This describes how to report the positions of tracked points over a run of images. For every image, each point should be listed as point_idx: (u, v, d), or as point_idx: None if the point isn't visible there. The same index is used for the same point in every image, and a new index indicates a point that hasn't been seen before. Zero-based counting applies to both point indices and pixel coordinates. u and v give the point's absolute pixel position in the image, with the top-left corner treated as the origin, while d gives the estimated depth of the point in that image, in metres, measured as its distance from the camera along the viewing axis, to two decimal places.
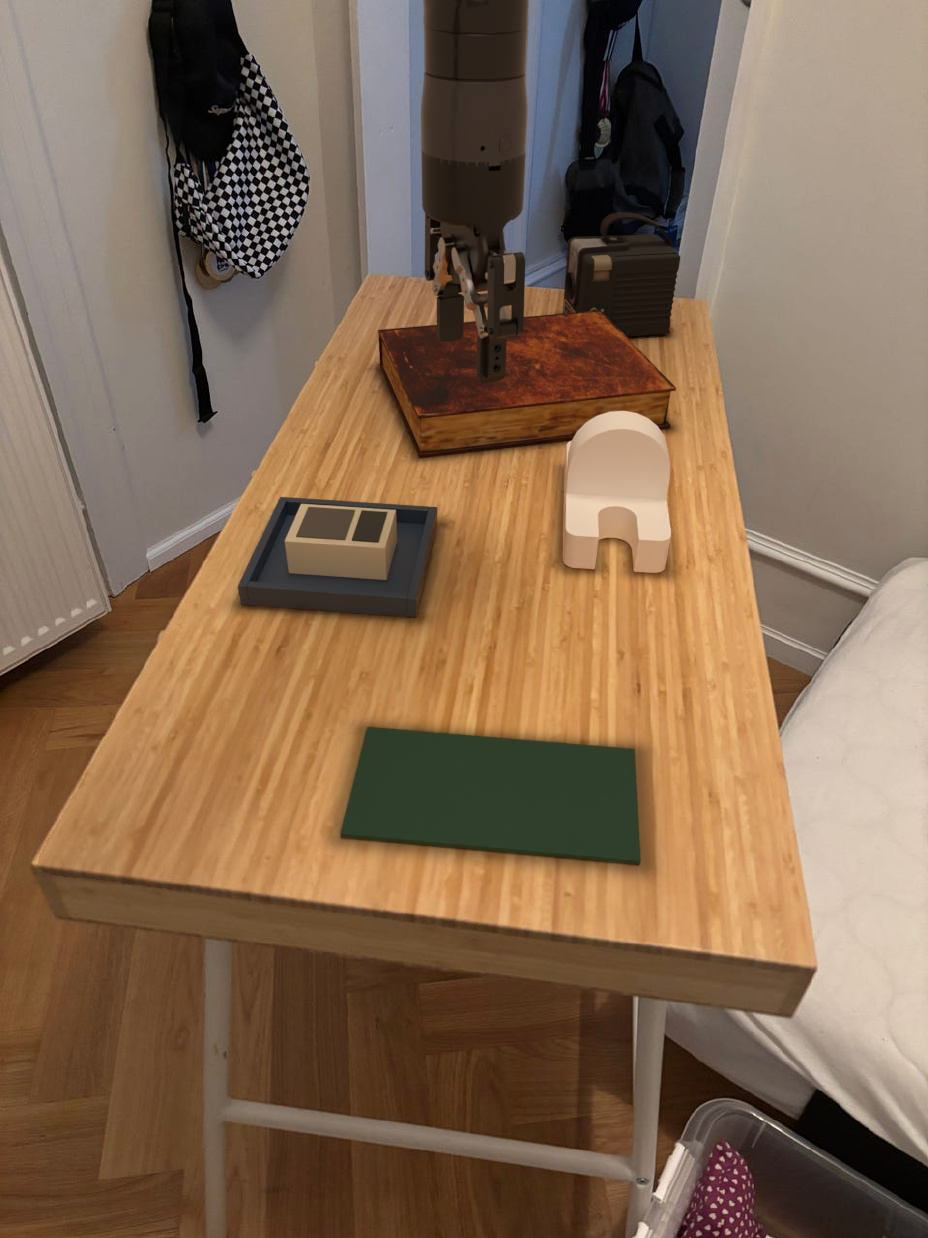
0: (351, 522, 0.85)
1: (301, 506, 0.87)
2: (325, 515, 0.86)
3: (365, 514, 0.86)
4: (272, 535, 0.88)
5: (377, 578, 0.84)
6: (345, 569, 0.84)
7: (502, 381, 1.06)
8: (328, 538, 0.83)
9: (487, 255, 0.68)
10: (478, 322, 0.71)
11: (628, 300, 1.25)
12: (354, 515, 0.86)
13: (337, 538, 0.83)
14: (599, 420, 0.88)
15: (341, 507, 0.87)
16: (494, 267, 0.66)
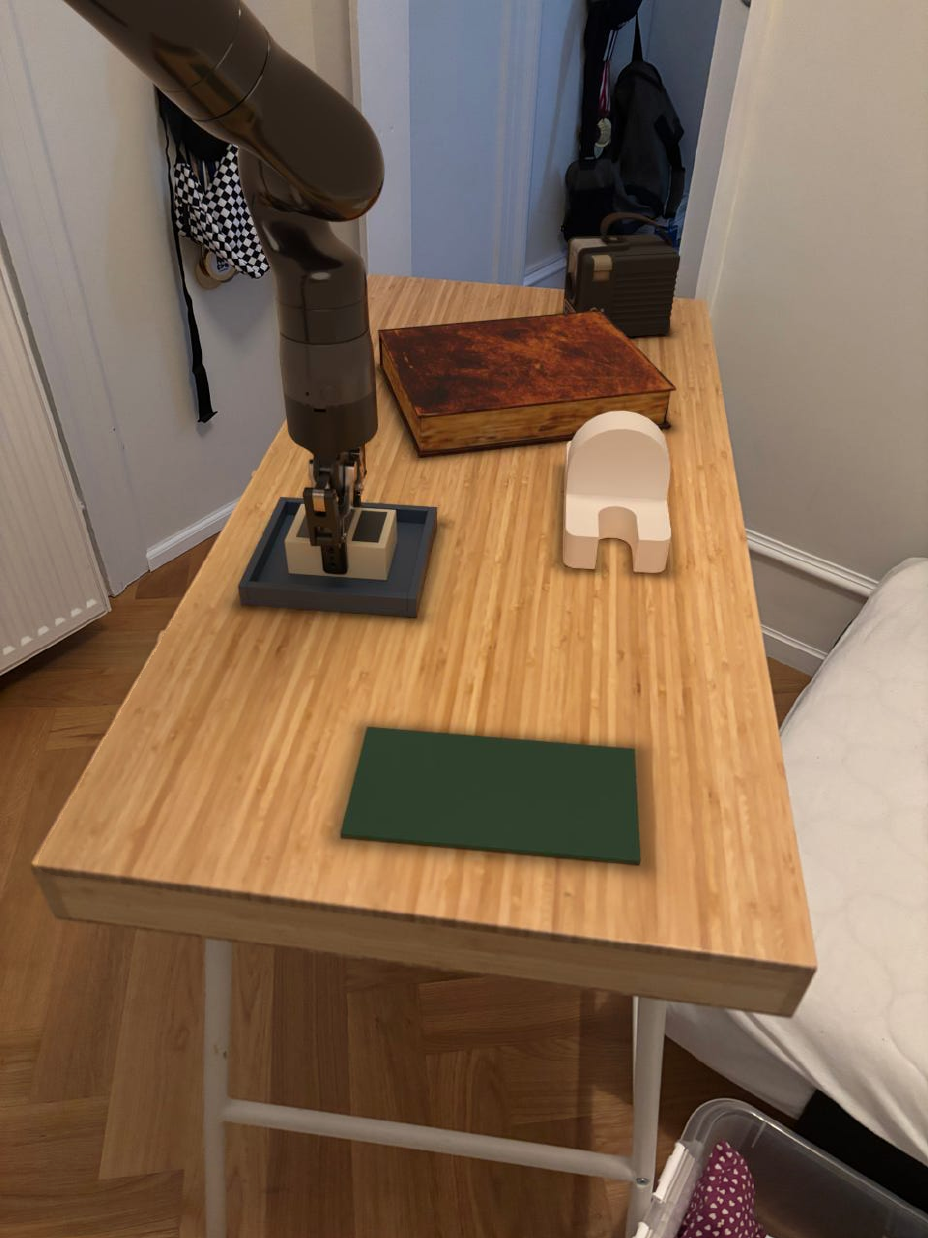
0: (351, 522, 0.85)
1: (301, 506, 0.87)
2: None
3: (365, 515, 0.86)
4: (272, 535, 0.88)
5: (377, 578, 0.84)
6: None
7: (502, 381, 1.06)
8: None
9: (317, 478, 0.77)
10: None
11: (628, 300, 1.25)
12: (354, 515, 0.86)
13: None
14: (600, 420, 0.88)
15: None
16: None
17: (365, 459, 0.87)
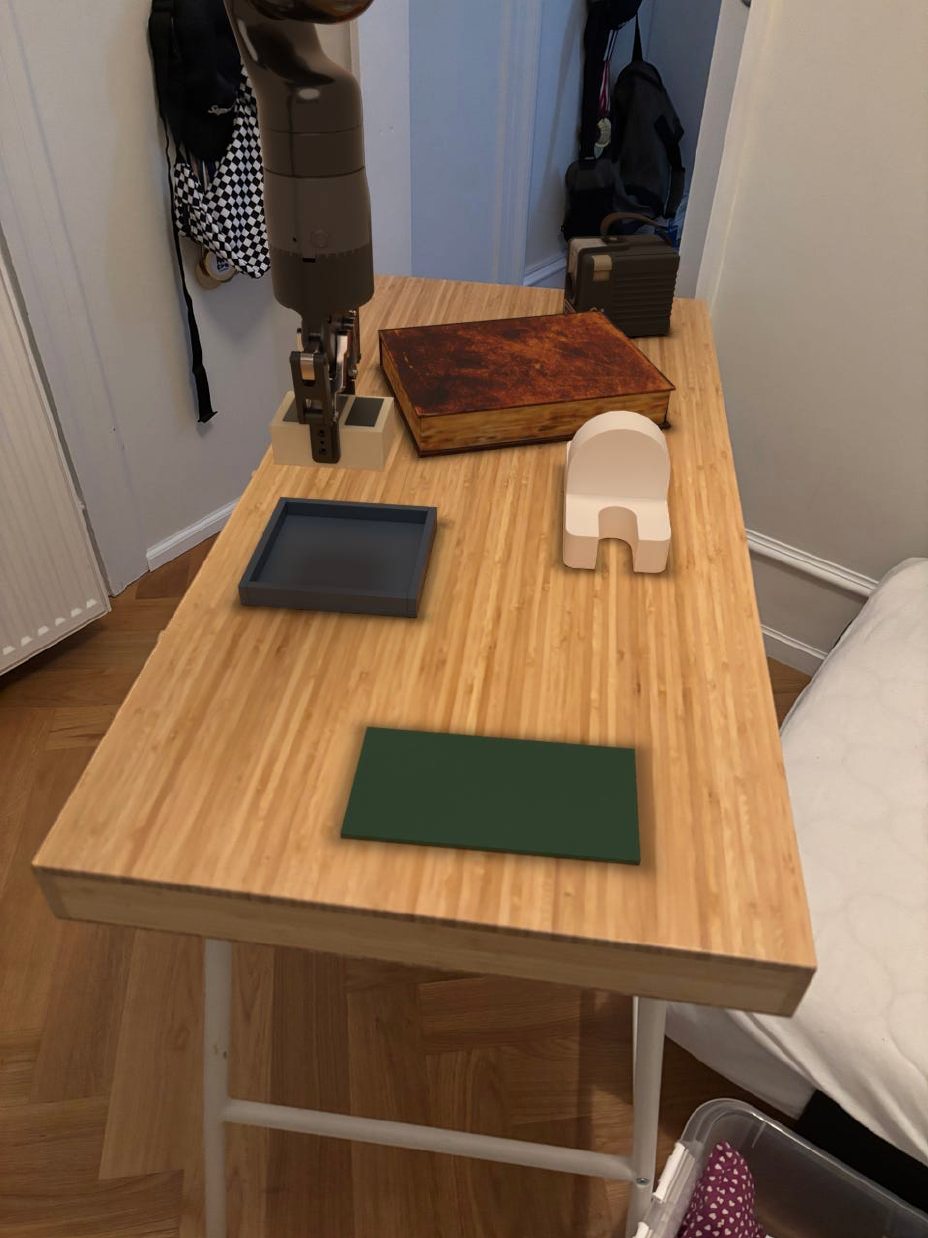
0: (344, 407, 0.77)
1: (288, 393, 0.78)
2: (315, 400, 0.77)
3: (359, 401, 0.77)
4: (272, 535, 0.88)
5: (373, 469, 0.76)
6: None
7: (502, 381, 1.06)
8: None
9: (306, 344, 0.68)
10: None
11: (628, 300, 1.25)
12: (347, 401, 0.78)
13: None
14: (600, 420, 0.88)
15: None
16: (290, 364, 0.67)
17: (359, 342, 0.79)
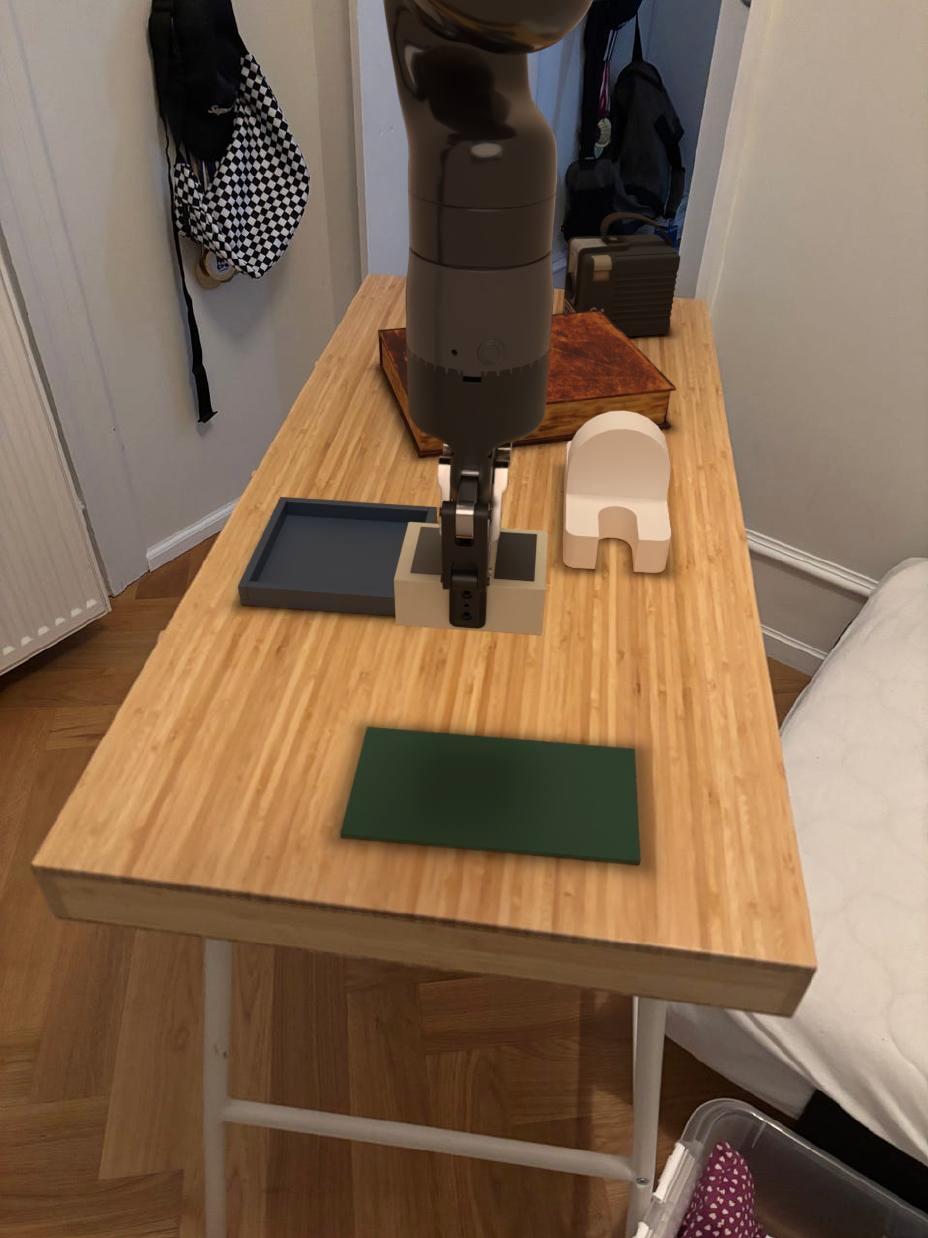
0: None
1: (410, 526, 0.60)
2: None
3: (506, 538, 0.58)
4: (272, 535, 0.88)
5: (528, 633, 0.57)
6: None
7: None
8: None
9: (458, 487, 0.50)
10: None
11: (628, 300, 1.25)
12: None
13: None
14: (600, 420, 0.88)
15: None
16: (441, 519, 0.48)
17: None
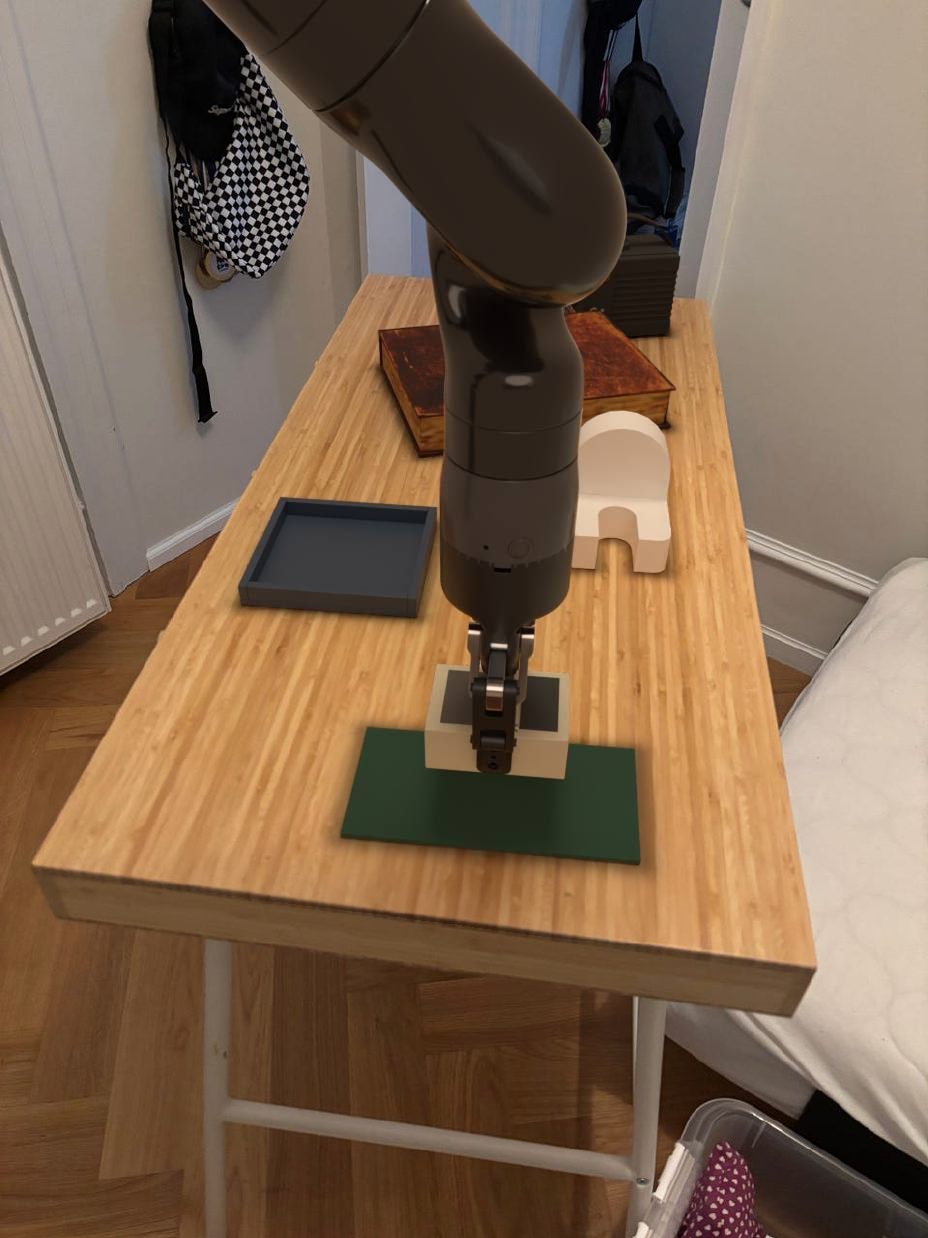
0: None
1: (438, 668, 0.63)
2: None
3: (530, 683, 0.61)
4: (272, 535, 0.88)
5: (551, 776, 0.60)
6: None
7: None
8: None
9: (487, 659, 0.53)
10: None
11: (628, 300, 1.25)
12: None
13: None
14: (600, 420, 0.88)
15: None
16: (472, 695, 0.51)
17: None
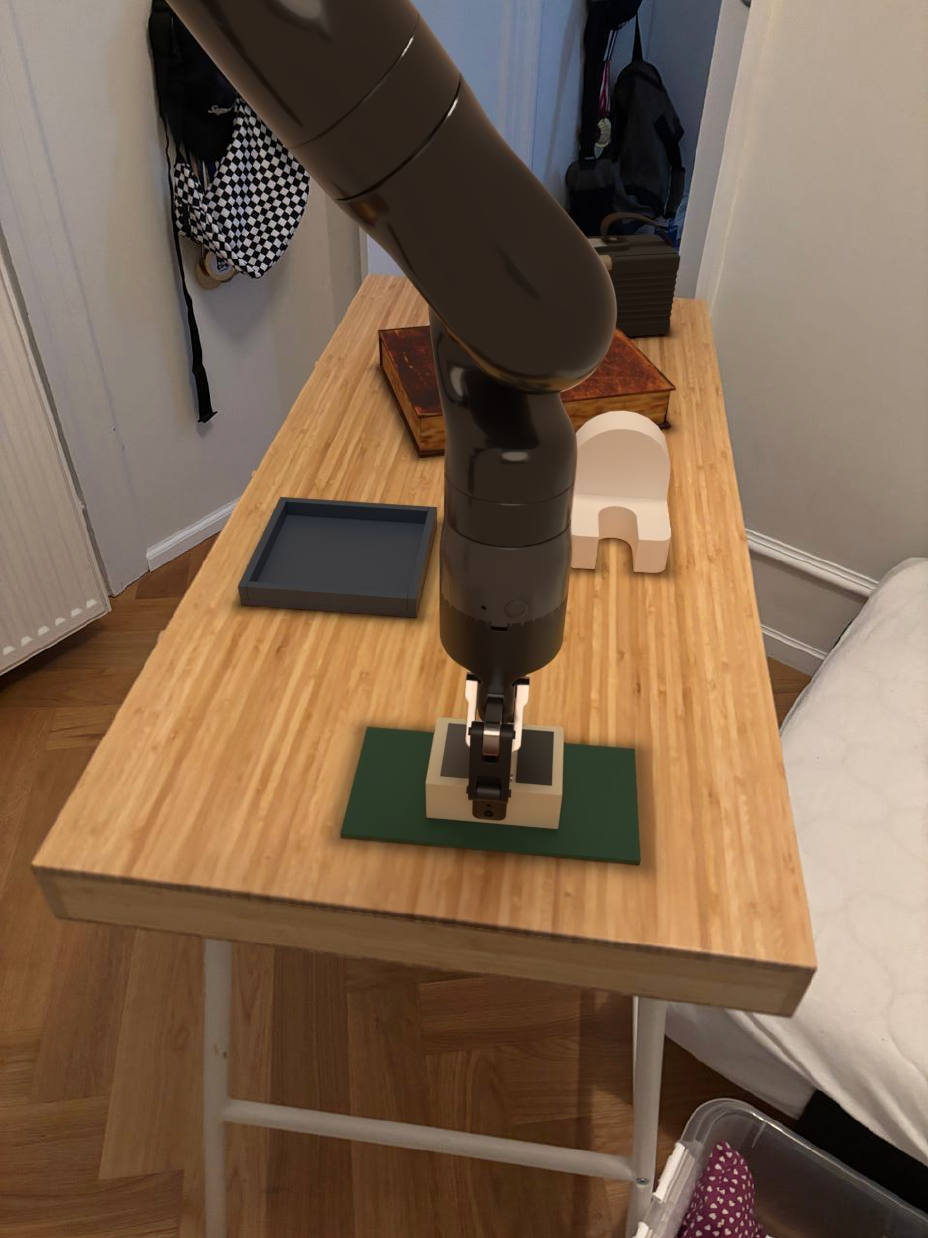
0: None
1: (438, 721, 0.66)
2: None
3: (525, 737, 0.65)
4: (272, 535, 0.88)
5: (545, 827, 0.63)
6: None
7: None
8: None
9: (484, 708, 0.55)
10: None
11: (628, 300, 1.25)
12: None
13: None
14: (600, 420, 0.88)
15: None
16: (470, 738, 0.53)
17: None
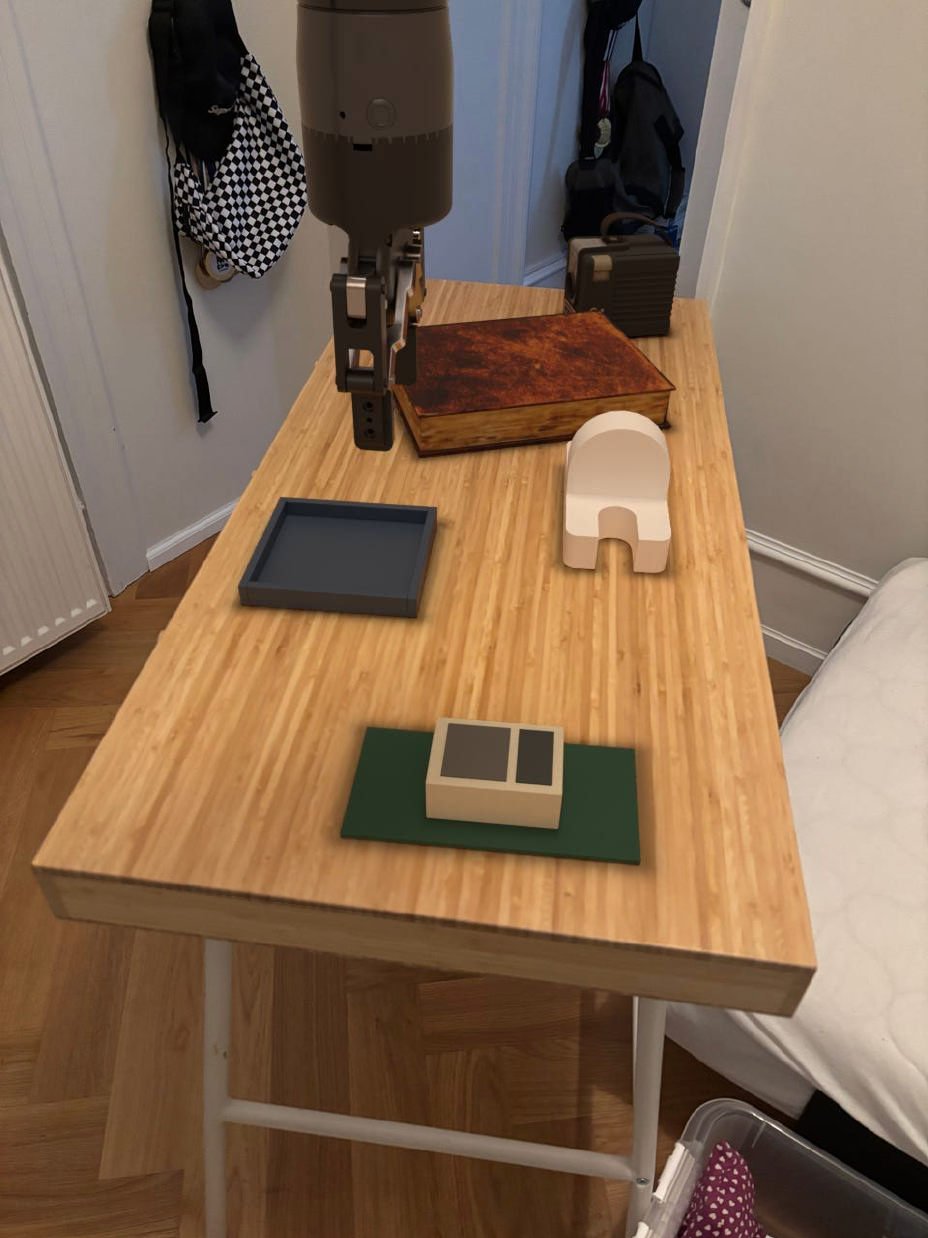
0: (509, 749, 0.64)
1: (438, 721, 0.66)
2: (472, 737, 0.65)
3: (525, 737, 0.65)
4: (272, 535, 0.88)
5: (545, 827, 0.63)
6: (504, 816, 0.63)
7: (502, 381, 1.06)
8: (484, 779, 0.62)
9: None
10: None
11: (628, 300, 1.25)
12: (510, 736, 0.65)
13: (496, 779, 0.62)
14: (600, 420, 0.88)
15: (491, 723, 0.66)
16: (331, 290, 0.45)
17: (424, 272, 0.58)
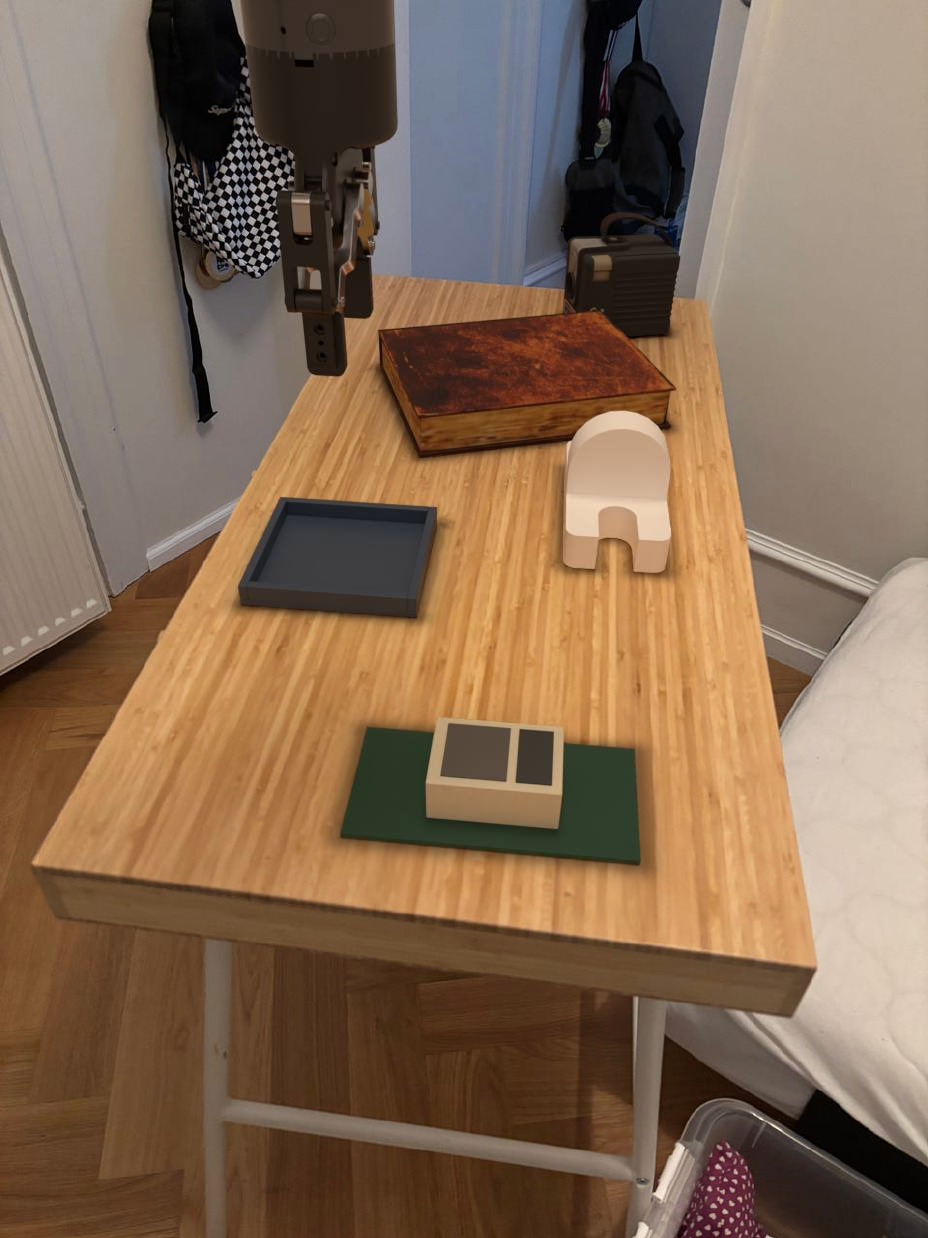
0: (509, 749, 0.64)
1: (438, 721, 0.66)
2: (472, 737, 0.65)
3: (525, 737, 0.65)
4: (272, 535, 0.88)
5: (545, 827, 0.63)
6: (504, 816, 0.63)
7: (502, 381, 1.06)
8: (484, 779, 0.62)
9: None
10: None
11: (628, 300, 1.25)
12: (510, 736, 0.65)
13: (496, 779, 0.62)
14: (600, 420, 0.88)
15: (491, 723, 0.66)
16: (277, 207, 0.46)
17: (377, 205, 0.59)
